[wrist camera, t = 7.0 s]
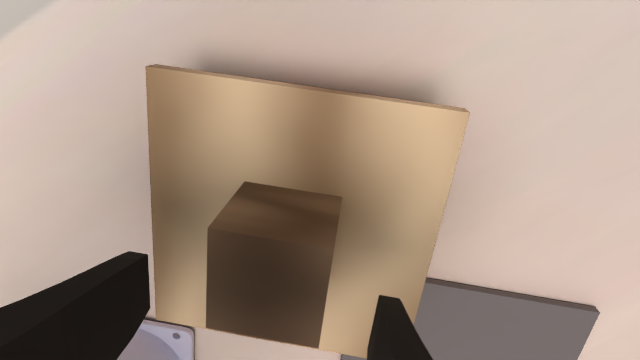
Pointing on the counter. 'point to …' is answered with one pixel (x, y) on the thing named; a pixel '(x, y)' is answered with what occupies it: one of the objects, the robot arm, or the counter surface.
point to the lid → (292, 204)
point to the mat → (498, 324)
